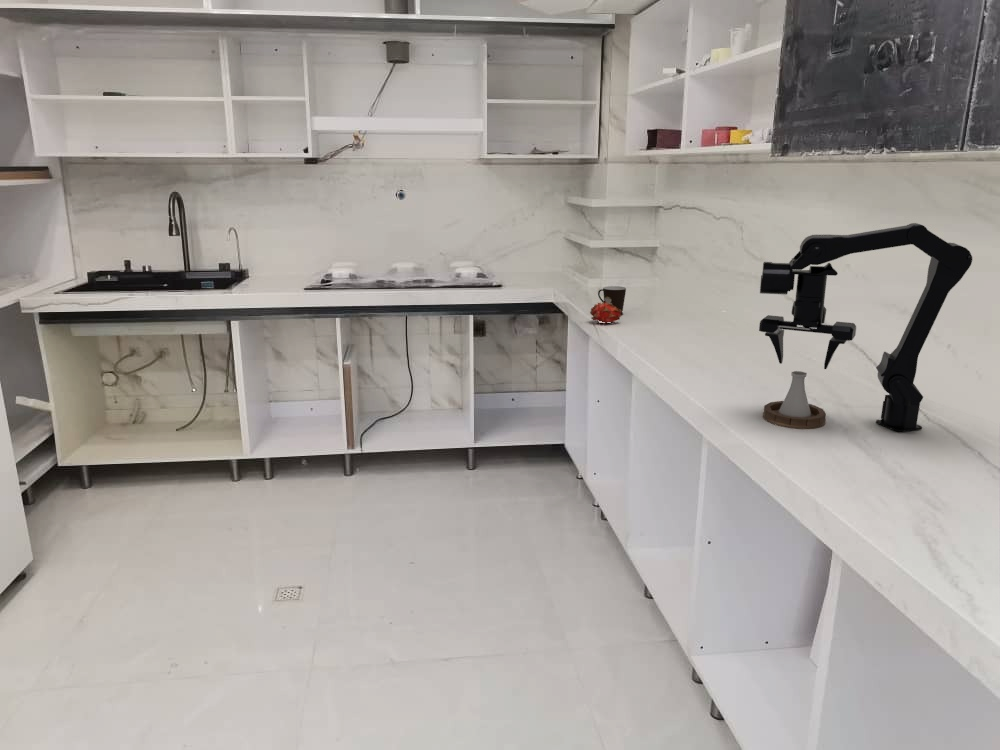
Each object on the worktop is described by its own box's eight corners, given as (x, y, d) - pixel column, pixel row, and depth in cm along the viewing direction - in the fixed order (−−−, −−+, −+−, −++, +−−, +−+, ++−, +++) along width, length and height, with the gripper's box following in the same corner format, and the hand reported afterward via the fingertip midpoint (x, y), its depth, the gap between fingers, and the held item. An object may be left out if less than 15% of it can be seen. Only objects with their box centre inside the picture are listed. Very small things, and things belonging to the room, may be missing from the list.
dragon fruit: (586, 327, 261) (619, 332, 261) (590, 317, 253) (624, 322, 253) (589, 306, 264) (621, 310, 264) (592, 295, 256) (626, 300, 256)
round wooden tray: (838, 425, 157) (840, 415, 156) (787, 431, 153) (788, 422, 153) (798, 406, 169) (799, 398, 168) (750, 412, 165) (751, 403, 165)
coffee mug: (628, 315, 273) (630, 289, 270) (607, 317, 271) (608, 290, 268) (616, 309, 284) (617, 284, 281) (595, 311, 281) (596, 285, 279)
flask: (784, 408, 166) (788, 366, 163) (816, 415, 161) (821, 372, 158) (771, 416, 161) (776, 373, 158) (804, 424, 156) (810, 379, 153)
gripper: (863, 293, 156) (854, 363, 160) (773, 286, 166) (767, 352, 170) (856, 301, 147) (847, 375, 151) (761, 294, 157) (755, 363, 161)
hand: (802, 365), depth 159 cm, fingers open, 9 cm apart
